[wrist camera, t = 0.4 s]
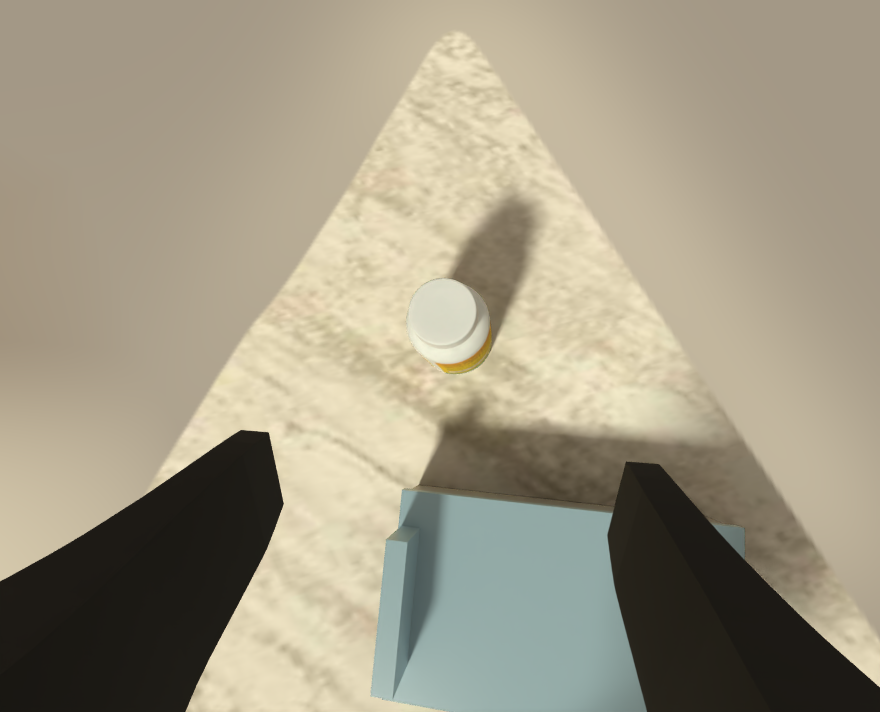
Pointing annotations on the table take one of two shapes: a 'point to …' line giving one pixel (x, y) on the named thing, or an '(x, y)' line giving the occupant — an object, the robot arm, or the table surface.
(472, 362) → the supplement bottle
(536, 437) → the table surface
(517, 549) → the lid
